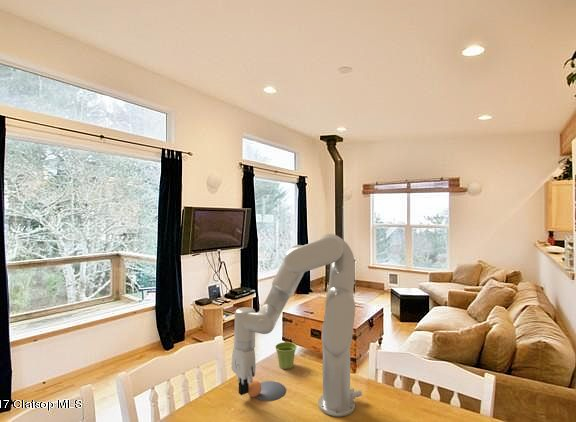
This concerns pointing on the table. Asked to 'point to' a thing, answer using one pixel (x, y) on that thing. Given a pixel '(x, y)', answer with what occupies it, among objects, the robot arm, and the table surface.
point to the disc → (271, 391)
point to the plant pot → (285, 354)
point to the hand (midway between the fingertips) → (243, 393)
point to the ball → (254, 388)
